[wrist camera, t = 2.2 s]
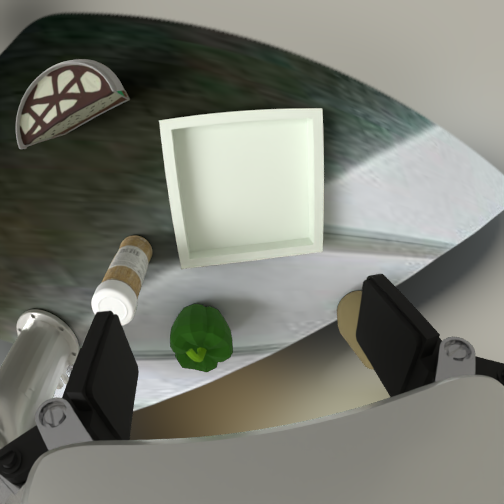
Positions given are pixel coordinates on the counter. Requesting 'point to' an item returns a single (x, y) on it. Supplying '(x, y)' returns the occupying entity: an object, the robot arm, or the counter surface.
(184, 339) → the bell pepper
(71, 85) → the food container
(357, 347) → the squeeze bottle
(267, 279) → the counter surface
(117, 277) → the sprinkles bottle
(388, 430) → the robot arm
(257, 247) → the tray
